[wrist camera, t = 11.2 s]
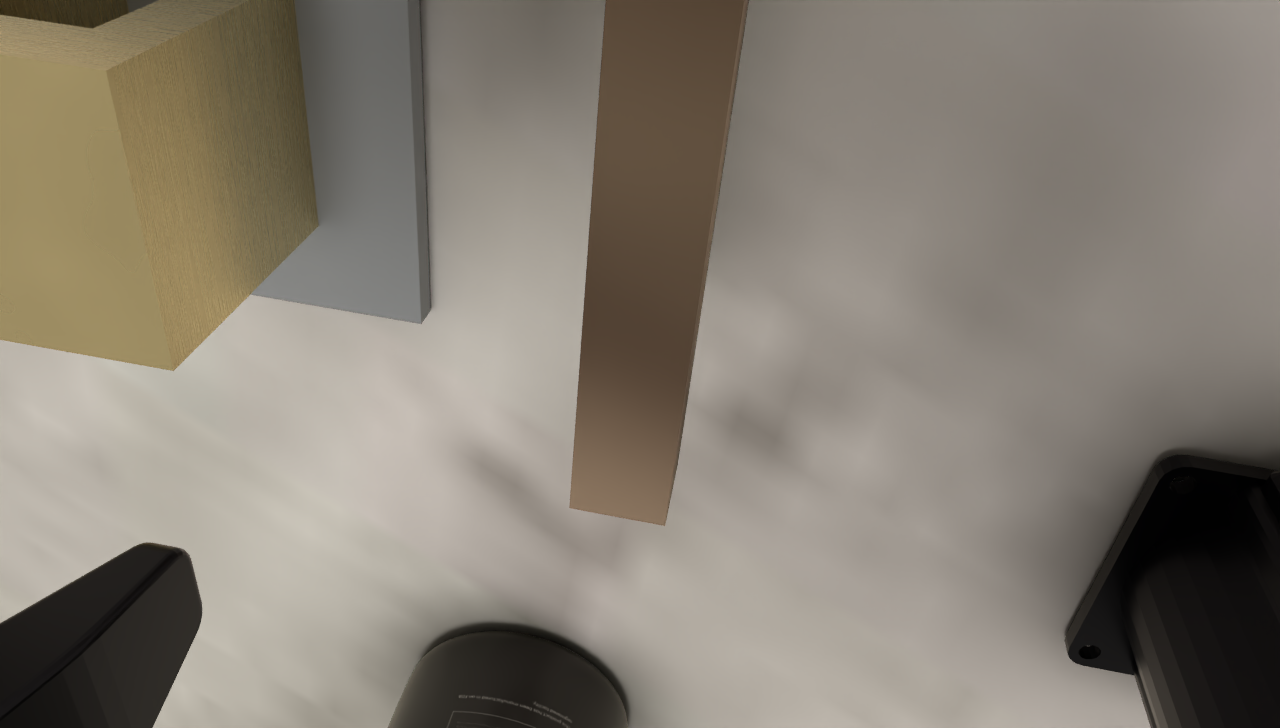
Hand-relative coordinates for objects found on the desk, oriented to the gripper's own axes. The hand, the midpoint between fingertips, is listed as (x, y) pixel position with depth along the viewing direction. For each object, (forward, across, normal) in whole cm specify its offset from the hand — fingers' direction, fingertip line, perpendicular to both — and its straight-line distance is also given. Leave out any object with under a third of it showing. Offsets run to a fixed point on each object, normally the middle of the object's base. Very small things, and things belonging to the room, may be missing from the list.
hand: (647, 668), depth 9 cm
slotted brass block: (+11, +11, 0) cm, 16 cm away
